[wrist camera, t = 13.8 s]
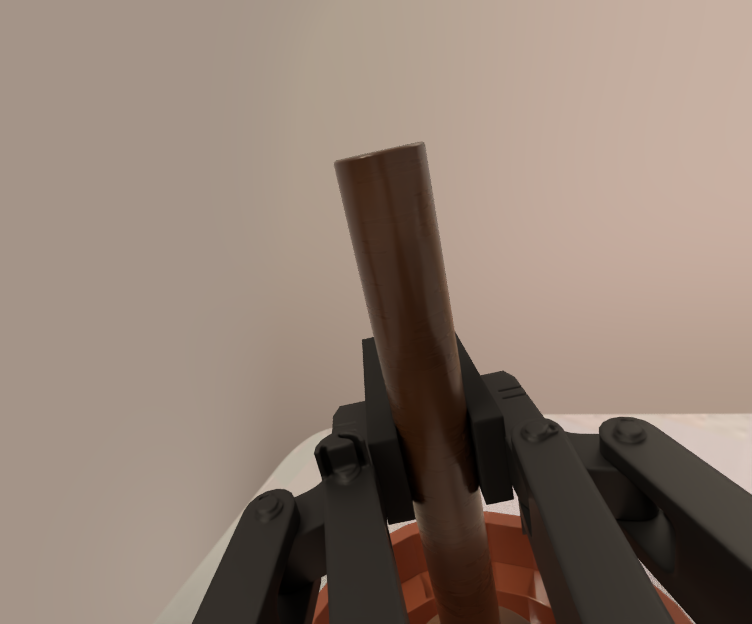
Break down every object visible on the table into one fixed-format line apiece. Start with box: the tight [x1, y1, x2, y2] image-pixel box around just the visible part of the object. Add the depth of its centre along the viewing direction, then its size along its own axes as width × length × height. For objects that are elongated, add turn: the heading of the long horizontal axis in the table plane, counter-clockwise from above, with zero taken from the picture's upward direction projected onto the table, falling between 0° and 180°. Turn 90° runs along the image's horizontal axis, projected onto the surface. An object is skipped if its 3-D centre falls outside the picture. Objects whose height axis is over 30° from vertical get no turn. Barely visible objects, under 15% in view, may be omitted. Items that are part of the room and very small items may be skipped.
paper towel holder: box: [334, 142, 531, 624], centre depth 13 cm, size 6×6×20 cm
